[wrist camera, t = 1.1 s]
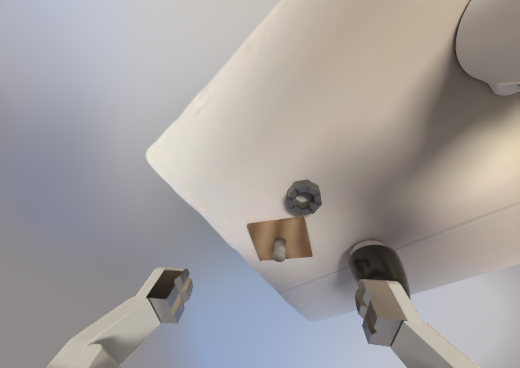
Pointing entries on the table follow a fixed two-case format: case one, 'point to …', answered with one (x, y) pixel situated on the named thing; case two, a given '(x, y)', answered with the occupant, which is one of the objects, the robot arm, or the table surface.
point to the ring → (304, 206)
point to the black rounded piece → (377, 263)
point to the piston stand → (281, 239)
